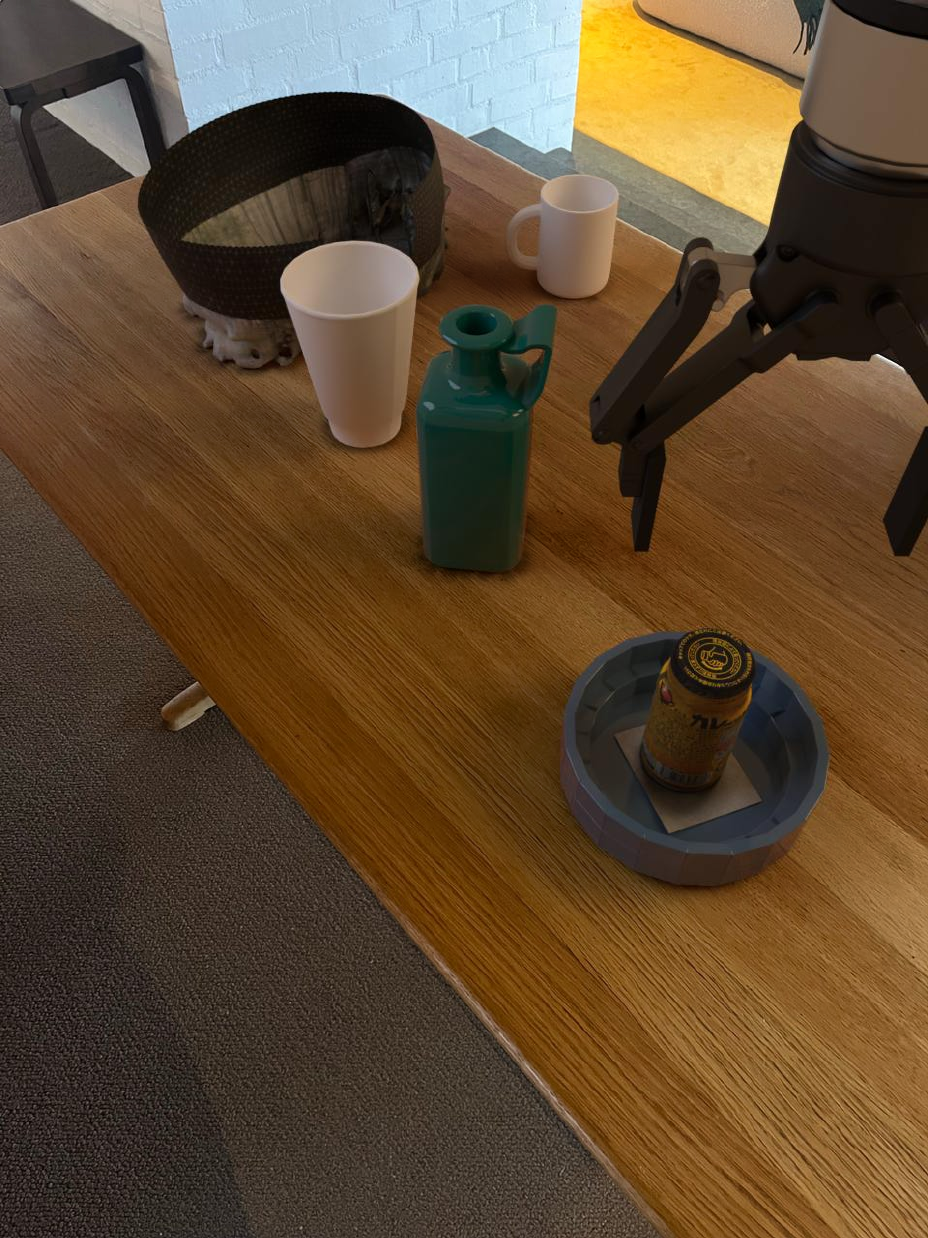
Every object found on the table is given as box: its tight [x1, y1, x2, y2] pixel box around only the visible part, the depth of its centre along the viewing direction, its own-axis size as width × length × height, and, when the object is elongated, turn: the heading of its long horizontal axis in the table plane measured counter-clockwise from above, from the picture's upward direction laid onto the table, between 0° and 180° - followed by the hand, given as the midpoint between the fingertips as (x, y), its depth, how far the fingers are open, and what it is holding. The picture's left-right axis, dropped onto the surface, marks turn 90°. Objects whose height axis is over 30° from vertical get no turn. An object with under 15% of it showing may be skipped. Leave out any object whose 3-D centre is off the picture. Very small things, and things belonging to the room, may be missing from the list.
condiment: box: [614, 627, 762, 833], centre depth 64 cm, size 7×8×12 cm
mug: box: [504, 173, 620, 300], centre depth 106 cm, size 12×8×10 cm
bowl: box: [558, 630, 831, 887], centre depth 67 cm, size 18×18×6 cm
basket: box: [137, 91, 452, 369], centre depth 102 cm, size 28×35×16 cm
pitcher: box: [414, 303, 559, 574], centre depth 75 cm, size 10×8×22 cm
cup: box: [280, 241, 420, 449], centre depth 88 cm, size 12×12×16 cm
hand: (766, 536), depth 51 cm, fingers open, 13 cm apart
